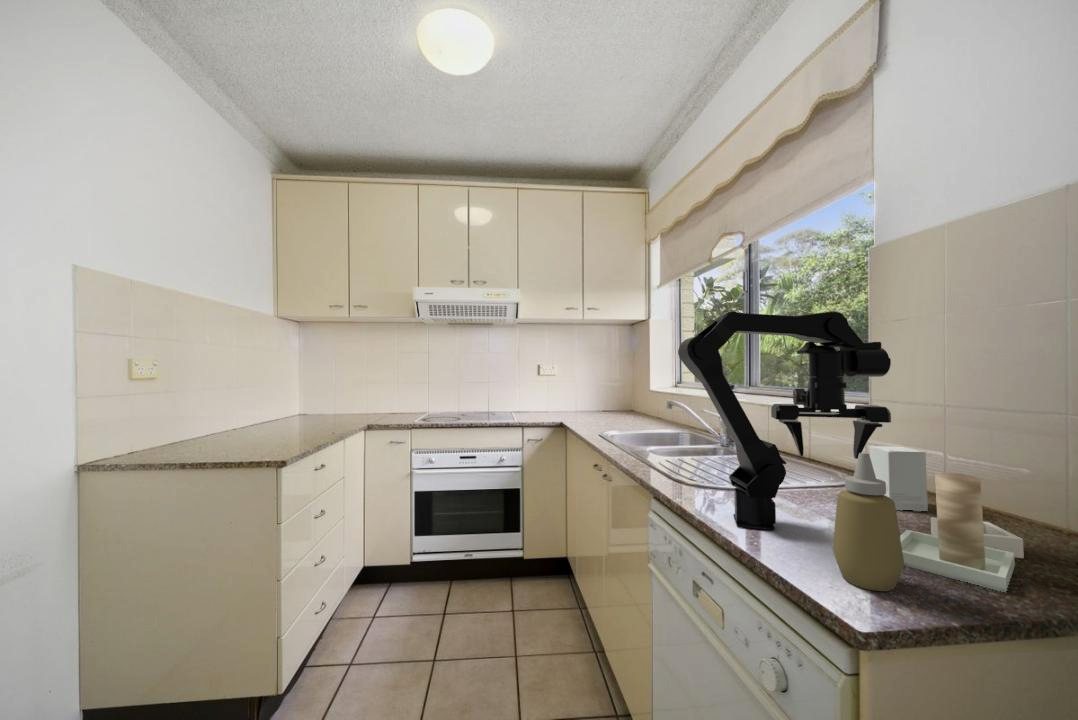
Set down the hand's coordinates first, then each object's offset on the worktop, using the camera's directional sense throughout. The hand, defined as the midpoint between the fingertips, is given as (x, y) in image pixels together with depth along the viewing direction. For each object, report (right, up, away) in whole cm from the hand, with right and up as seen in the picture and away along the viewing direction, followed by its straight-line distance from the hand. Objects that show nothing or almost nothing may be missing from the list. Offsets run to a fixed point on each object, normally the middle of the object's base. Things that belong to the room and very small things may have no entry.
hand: (828, 457), depth 84 cm
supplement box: (+23, -14, +11) cm, 29 cm away
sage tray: (+7, -12, -17) cm, 23 cm away
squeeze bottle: (-10, -13, -23) cm, 28 cm away
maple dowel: (+8, -12, -18) cm, 23 cm away
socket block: (+18, -13, -11) cm, 24 cm away
